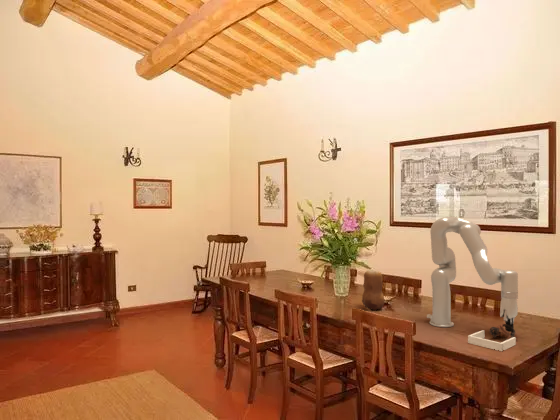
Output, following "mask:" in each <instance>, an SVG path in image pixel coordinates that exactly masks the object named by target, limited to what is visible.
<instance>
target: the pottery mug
mask: <svg viewBox="0 0 560 420" xmlns="http://www.w3.org/2000/svg"><path fill="white" fill-rule="evenodd" d="M506 329H510V330H511V332H509V331H506ZM488 332H489V334H490V335H491V336H492V337H493V338H497V336H498V337H500V336H501V334H502V333H503V334H504V335H505V336H506V337H507V338H506V339H505V341H506V340H508V339H510V338H513V337H516V336H515V335H516V330H515V329H513V328H512V327H511V326H509V325H507V324H506V323H501V324H500V325H497V326H491V327H490V328H489V330H488Z"/></svg>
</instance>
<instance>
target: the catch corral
mask: <svg viewBox="0 0 560 420" xmlns="http://www.w3.org/2000/svg"><path fill="white" fill-rule="evenodd" d="M485 335H486V334H485V330H483V329H482V330H480V331H476V332H474V333H472V334H469V335H467V343H468V344H470V345H474V346H479V347H483V348H487V349H491V350H494V349H495V350H494V351H498V350H499V351H498V352H503V350H504V351H506V350H508V349H510V348H512V347H514V346H517V340H516V339H517V338H516V336H515V337H513V338H510V339H508V340H506V339H505V340H504V341H502V342H498V341H494V340H490V339H486V338H485Z"/></svg>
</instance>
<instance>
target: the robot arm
mask: <svg viewBox="0 0 560 420" xmlns="http://www.w3.org/2000/svg"><path fill="white" fill-rule="evenodd" d="M429 232H430V234H429V235H430V243H431V244H430V246H431V248H430V249H431V259H432V262H433V263H434V264H435V265H438V267H437V268H435V269H434V270H433V271H432V272H431V275H430V278H431V279H430V282H431V288H432V289H431V290H432V291H431V292H432V294H431V296H432V314H430V313H428V314H426V318H427V319H430V321H429V325H431V326H434V327H438V328H439V327H440V328H450V327H451V328H452V327H454V322H453V321H451V311H452V308H451V307H452V306H451V305H452V304H451V303H452V302H451V301H452V299H451V295H452V293H451V287H450V283H452V282H454V281H455V280H456V277H457V266H456V265H457V263H456V256H455V255H456V254H455V252H454V250H453V249H452V248H450V247H449V246H448V238H447V233H451V232H452V233H456V234H458V235H460V237H461V239H462V241H463V243H464V245H465V246H466V249H468V251H469V253H470V255H471V259H472V263H473V266H474V268H475V270H476V272H477V274H478V276H479V278H480V279H481V281H482V282H483V283H484V284H485V285H488V286H492V285H495V284H498V283H500V296H501V297H500V299H501V300H500V305H499V306H500V310H499V316H500V318H503V321H504V324H507V325H509V326H511V327H512V328H513V329H514V325H515V324H514V323H515V318H516V316H518V314H519V313H518V310H519V309H518V308H519V307H518V299H519V288H518V287H519V280H518V279H519V274H518V273H519V272H518V271H516V270H512V269H501V268H497V267H492V266H491V263H490V261H489V259H488V247H487V245H486V244H485V242H484V239H482V236H481V233H482V231H481V227H480V225H478V224H477V223H474V222H472V221H468V220H466V219H462V218H459V217H457V216H442V217H440V218H438V219H436V220H435V221H434V222H433V223H432V225H431V227H430V231H429ZM505 330H506V331H508V332H509V333H511V330H510V329H505ZM514 330H515V329H514Z"/></svg>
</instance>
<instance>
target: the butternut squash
mask: <svg viewBox="0 0 560 420" xmlns="http://www.w3.org/2000/svg"><path fill="white" fill-rule="evenodd" d="M382 290H383V275H382V272H380V271H379V270H373V269H368V270H366V271H365V272H364V273H363V293H362V297H361V298H362V299H361V303H362V304H363V306H364V307H365V308H367V309H369V310H371V311H378V310H379V309H382V308H383V307H384V305H385V296H384V293H383V291H382ZM377 309H378V310H377Z"/></svg>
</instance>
